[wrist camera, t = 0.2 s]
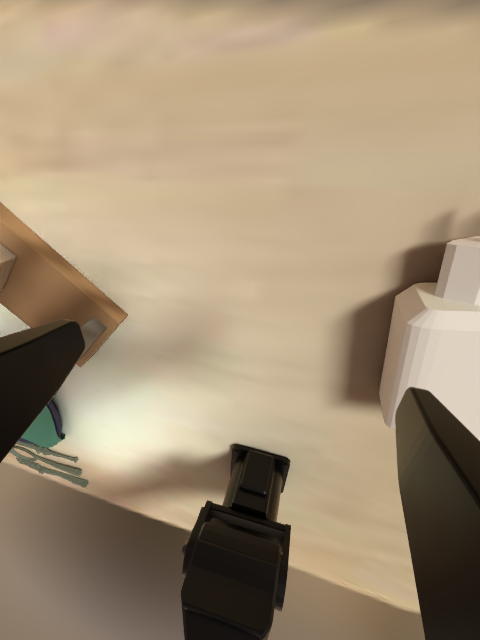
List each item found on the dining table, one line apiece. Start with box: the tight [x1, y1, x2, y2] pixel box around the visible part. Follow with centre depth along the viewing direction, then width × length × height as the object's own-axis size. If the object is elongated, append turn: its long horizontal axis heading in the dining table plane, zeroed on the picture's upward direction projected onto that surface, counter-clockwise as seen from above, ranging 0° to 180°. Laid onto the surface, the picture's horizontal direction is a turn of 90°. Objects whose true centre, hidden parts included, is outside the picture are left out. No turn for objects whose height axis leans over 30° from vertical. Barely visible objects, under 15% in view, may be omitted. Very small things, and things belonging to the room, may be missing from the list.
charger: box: [379, 236, 480, 441], centre depth 18 cm, size 5×9×15 cm
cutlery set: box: [9, 400, 88, 487], centre depth 43 cm, size 20×30×2 cm, turn 179°
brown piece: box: [0, 203, 128, 367], centre depth 26 cm, size 19×9×6 cm, turn 47°
